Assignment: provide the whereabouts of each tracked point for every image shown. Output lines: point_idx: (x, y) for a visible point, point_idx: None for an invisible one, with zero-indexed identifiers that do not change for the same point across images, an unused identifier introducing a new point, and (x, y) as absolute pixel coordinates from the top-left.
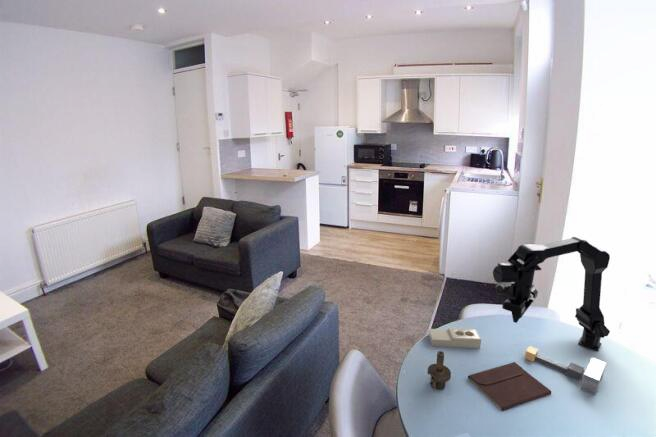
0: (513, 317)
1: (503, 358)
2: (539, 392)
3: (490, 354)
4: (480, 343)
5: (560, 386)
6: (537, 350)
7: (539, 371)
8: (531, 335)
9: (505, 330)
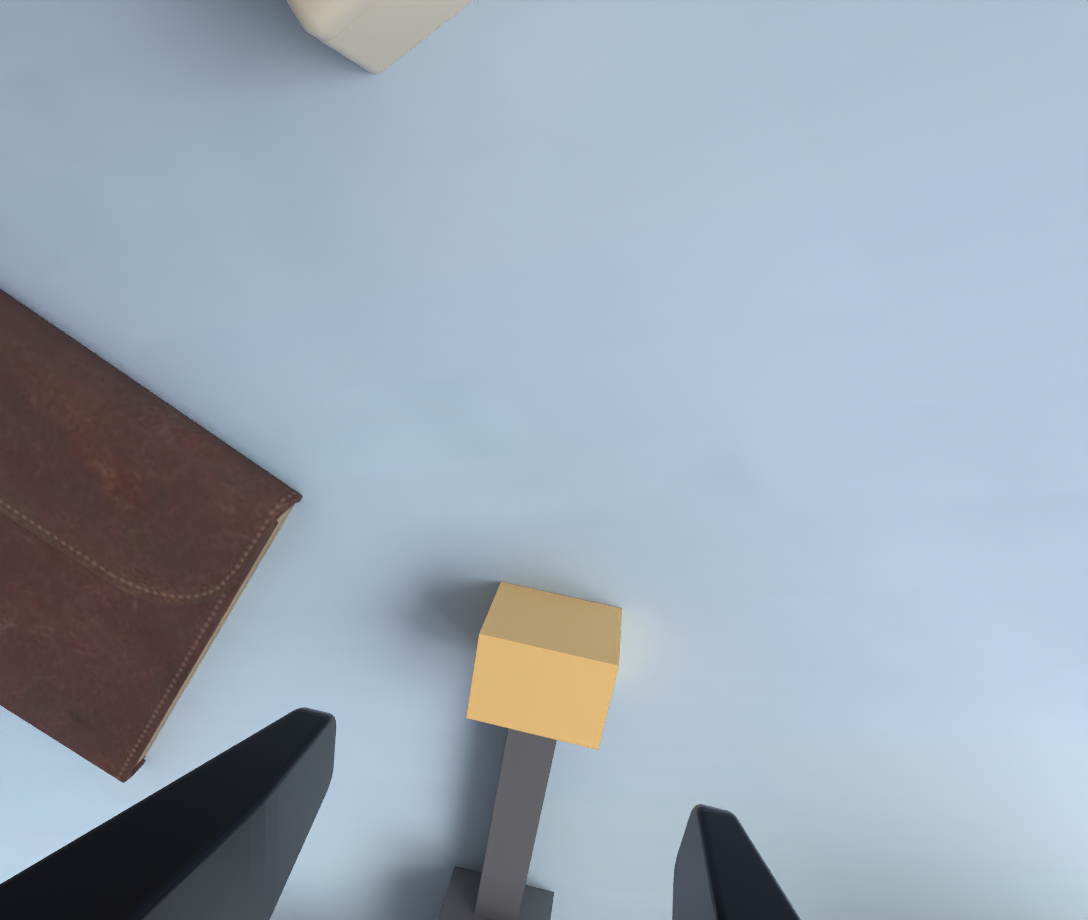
0: (116, 844)
1: (346, 389)
2: (35, 715)
3: (321, 238)
4: (330, 47)
5: None
6: (570, 740)
7: (366, 700)
8: (1078, 625)
9: (1079, 300)
